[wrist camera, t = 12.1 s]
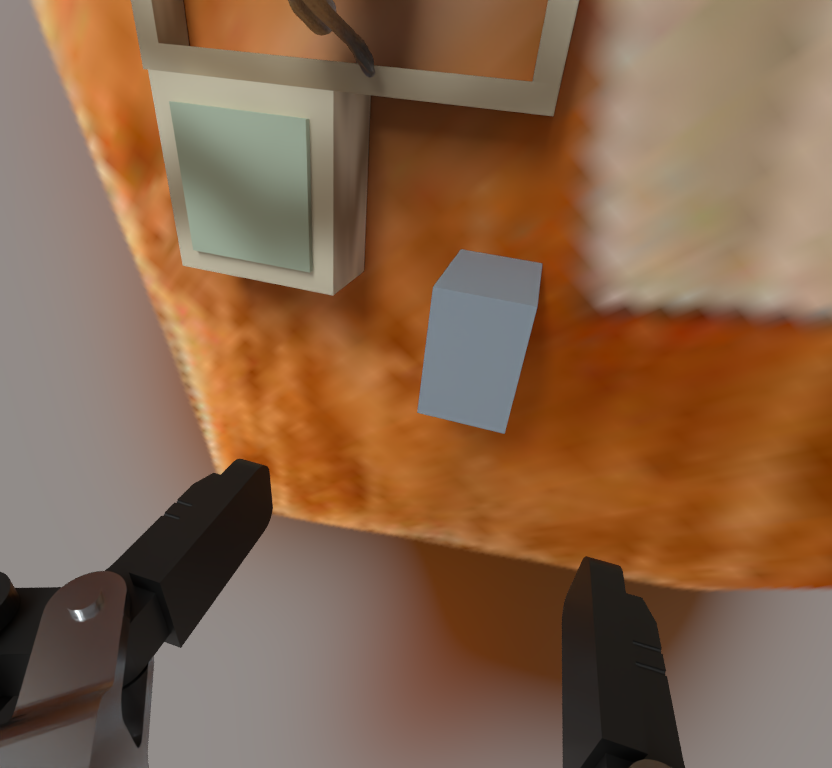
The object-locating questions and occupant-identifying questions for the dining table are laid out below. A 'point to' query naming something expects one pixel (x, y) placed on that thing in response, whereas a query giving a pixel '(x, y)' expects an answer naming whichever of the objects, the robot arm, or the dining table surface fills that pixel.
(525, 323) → the fin block
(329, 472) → the dining table surface
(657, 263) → the dining table surface
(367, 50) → the lion figurine
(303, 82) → the grey rectangular frame
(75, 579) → the robot arm
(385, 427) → the dining table surface
